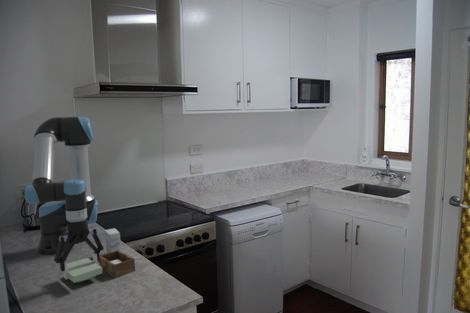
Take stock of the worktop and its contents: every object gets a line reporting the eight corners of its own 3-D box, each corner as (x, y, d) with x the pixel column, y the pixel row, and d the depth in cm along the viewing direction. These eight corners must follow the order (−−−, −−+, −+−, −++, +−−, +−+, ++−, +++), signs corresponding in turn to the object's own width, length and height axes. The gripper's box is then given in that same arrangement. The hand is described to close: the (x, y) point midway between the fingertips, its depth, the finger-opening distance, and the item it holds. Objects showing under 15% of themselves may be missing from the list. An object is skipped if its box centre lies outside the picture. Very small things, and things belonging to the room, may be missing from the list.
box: (99, 269, 153) (98, 256, 152) (119, 263, 159) (118, 250, 158) (114, 280, 143) (113, 265, 142) (135, 272, 149) (134, 258, 149)
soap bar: (109, 268, 152) (108, 261, 151) (118, 265, 155) (117, 259, 154) (115, 273, 148) (115, 266, 147) (124, 269, 150) (124, 263, 150)
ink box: (122, 257, 166) (120, 232, 164) (111, 259, 163) (109, 234, 162) (117, 251, 173) (115, 227, 172) (106, 253, 170) (104, 229, 169)
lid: (60, 274, 143) (59, 265, 143) (87, 265, 151) (87, 257, 151) (74, 285, 134) (73, 276, 133) (102, 275, 141) (102, 267, 141)
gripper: (47, 228, 129) (53, 286, 131) (110, 214, 145) (113, 266, 148) (41, 224, 134) (46, 280, 137) (101, 211, 151) (105, 261, 153)
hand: (81, 273), depth 142 cm, fingers closed on lid, 11 cm apart
